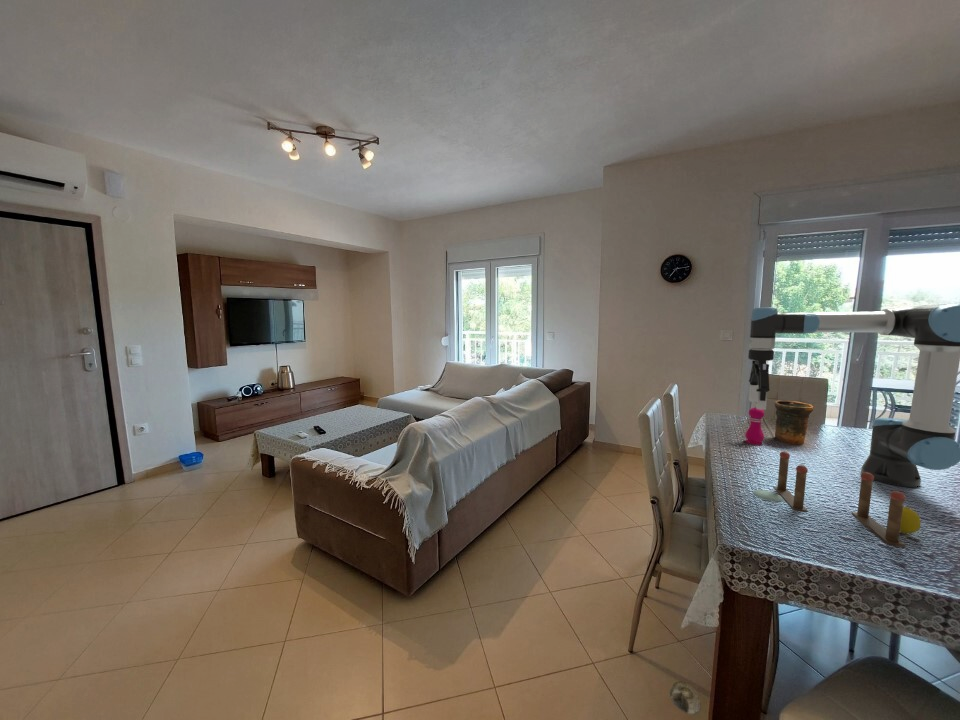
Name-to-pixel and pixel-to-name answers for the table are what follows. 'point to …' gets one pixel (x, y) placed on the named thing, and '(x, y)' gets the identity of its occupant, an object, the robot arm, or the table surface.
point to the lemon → (909, 521)
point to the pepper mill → (755, 427)
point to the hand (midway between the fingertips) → (756, 405)
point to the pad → (768, 495)
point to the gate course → (862, 515)
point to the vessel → (792, 421)
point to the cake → (685, 698)
